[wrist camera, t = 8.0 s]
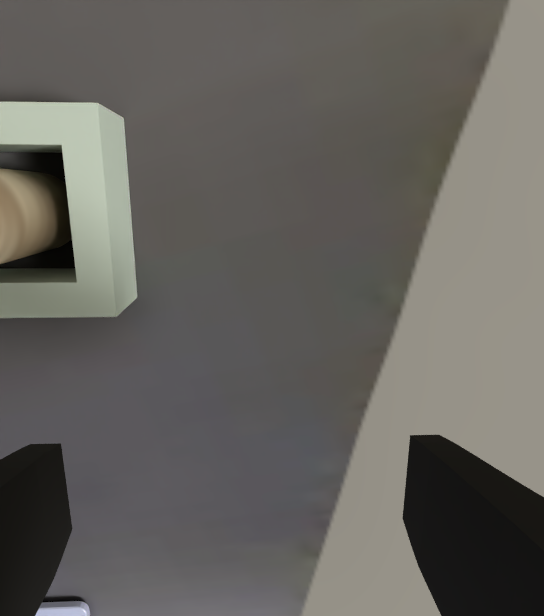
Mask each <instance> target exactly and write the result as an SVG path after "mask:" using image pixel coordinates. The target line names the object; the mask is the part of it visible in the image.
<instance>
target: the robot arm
mask: <svg viewBox="0 0 544 616" xmlns="http://www.w3.org/2000/svg"><path fill="white" fill-rule="evenodd" d="M403 520H404V524H405V527H406V530H407V533H408V537H409V540H410V543H411V546H412V549H413V552H414V554H415V557H416V560H417V563H418V566H419V568H420V570H421V573H422V575H423V577H424V579H425V582H426V583H427V586H428V588H429V590H430V592H431V594H432V596H433V599H434V601H435V603H436V605H437V607H438V609H439V611H440V614H441V616H544V497H542V496H541V495H539V494H537V493H535V492H534V491H532V490H530V489H529V488H527V487H525V486H524V485H522V484H520V483H519V482H517V481H515V480H514V479H512V478H511V477H509V476H507V475H506V474H504V473H502V472H501V471H499V470H498V469H496V468H494V467H493V466H491V465H489V464H488V463H486V462H485V461H483V460H481V459H480V458H478V457H477V456H475V455H473V454H472V453H470V452H468V451H467V450H465V449H464V448H462V447H460V446H459V445H457V444H455V443H453V442H451V441H450V440H448V439H446V438H444V437H442V436H440V435H412V436H410V445H409V455H408V466H407V478H406V488H405V499H404V510H403ZM71 531H72V524H71V516H70V509H69V501H68V494H67V486H66V479H65V471H64V464H63V456H62V449H61V444H30V445H28V446H26V447H23V448H21V449H19V450H17V451H15V452H14V453H12V454H10V455H8V456H6V457H5V458H3V459H1V460H0V616H90V610H89V607H88V605H87V604H86V603H84V602H82V601H67V602H42V601H43V599H44V598H45V596H46V594H47V592H48V590H49V587H50V585H51V583H52V581H53V579H54V577H55V574H56V571H57V569H58V566H59V564H60V561H61V559H62V556H63V553H64V550H65V548H66V545H67V542H68V539H69V536H70V534H71Z"/></svg>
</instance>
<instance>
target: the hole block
mask: <svg viewBox="0 0 544 616" xmlns="http://www.w3.org/2000/svg"><path fill="white" fill-rule="evenodd" d="M0 152H62V153H63V162H64V171H65V180H66V189H67V198H68V207H69V216H70V225H71V234H72V243H73V252H74V261H75V268H11V269H0V318H53V317H117V316H118V315H119V314H120V313H121V312H122V311H123V310H124V309H126V308H127V307H128V306H129V305H130V304H131V303H132V302H133V301H134V300H135V299H136V298H137V285H136V272H135V259H134V246H133V233H132V220H131V207H130V194H129V181H128V167H127V154H126V141H125V128H124V118H123V117H121V116H119V115H118V114H116V113H114V112H112V111H111V110H109V109H107V108H105V107H104V106H102V105H100V104H99V103H66V102H0Z"/></svg>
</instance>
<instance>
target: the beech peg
mask: <svg viewBox="0 0 544 616" xmlns="http://www.w3.org/2000/svg"><path fill="white" fill-rule="evenodd" d="M71 239H72V234H71V225H70V216H69V207H68V198H67V189H66V184H65V183H64V182H63V181H61V180H60V179H58V178H57V177H55V176H52V175H50V174H47V173H41V172H32V171H22V170H11V169H1V168H0V264H2V263H6V262H9V261H13V260H16V259H20V258H23V257H27V256H30V255H34V254H37V253H41V252H44V251H48V250H51V249H55V248H58V247H61V246H63V245H64V244H66V243H67V242H69V241H70V240H71Z"/></svg>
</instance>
